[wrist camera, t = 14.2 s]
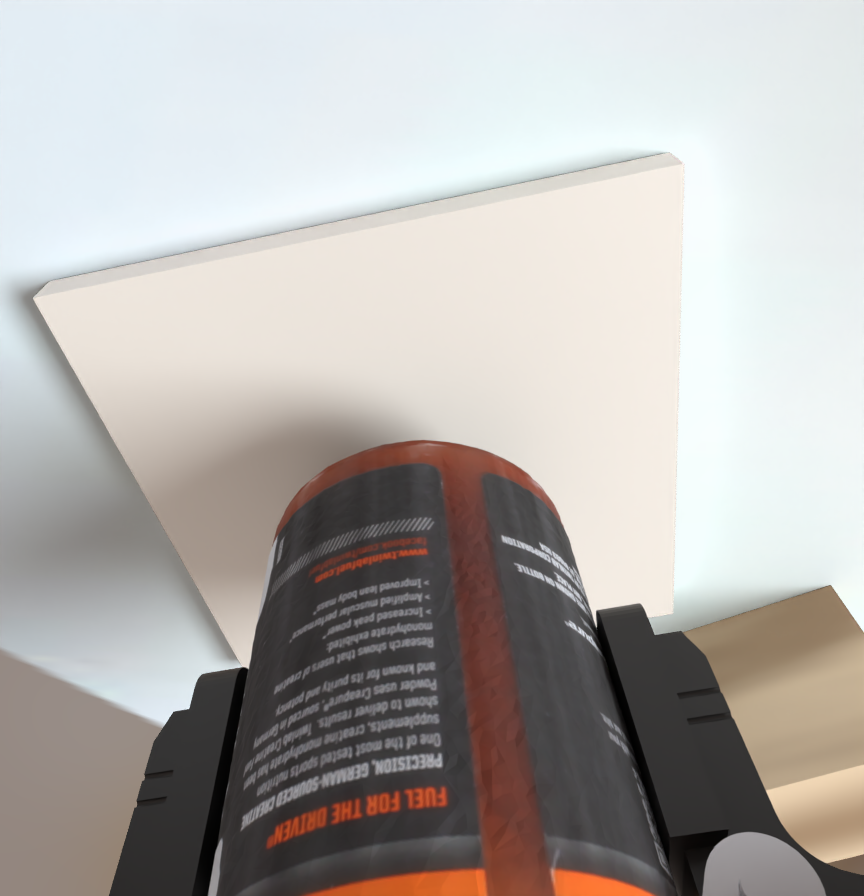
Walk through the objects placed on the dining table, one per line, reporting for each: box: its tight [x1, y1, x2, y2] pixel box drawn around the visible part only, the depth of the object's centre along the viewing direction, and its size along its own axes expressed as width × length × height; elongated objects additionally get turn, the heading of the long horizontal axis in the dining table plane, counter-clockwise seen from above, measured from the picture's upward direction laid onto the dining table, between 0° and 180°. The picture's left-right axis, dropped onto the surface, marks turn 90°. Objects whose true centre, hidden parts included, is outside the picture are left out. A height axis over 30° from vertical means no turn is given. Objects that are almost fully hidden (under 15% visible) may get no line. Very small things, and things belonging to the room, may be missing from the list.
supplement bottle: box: [208, 440, 678, 896], centre depth 10 cm, size 6×6×11 cm
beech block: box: [683, 585, 864, 863], centre depth 20 cm, size 5×5×5 cm
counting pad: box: [33, 152, 684, 669], centre depth 16 cm, size 12×12×1 cm
